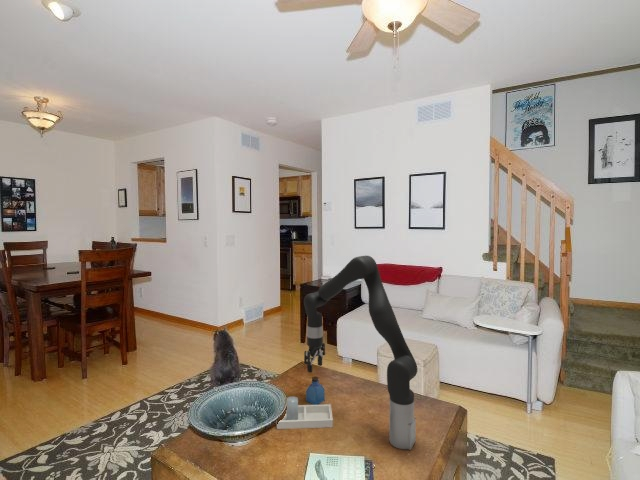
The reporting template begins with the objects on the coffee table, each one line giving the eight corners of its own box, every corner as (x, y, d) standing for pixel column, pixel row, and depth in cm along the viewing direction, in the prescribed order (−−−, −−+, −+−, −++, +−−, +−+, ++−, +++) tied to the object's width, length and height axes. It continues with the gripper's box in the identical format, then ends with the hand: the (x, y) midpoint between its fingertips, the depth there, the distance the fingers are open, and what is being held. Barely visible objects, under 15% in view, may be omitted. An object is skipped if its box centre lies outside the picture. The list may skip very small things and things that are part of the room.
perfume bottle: (316, 407, 157) (316, 382, 156) (306, 403, 161) (306, 378, 160) (324, 401, 162) (324, 377, 161) (314, 397, 166) (314, 373, 165)
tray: (330, 412, 153) (330, 404, 152) (332, 429, 141) (332, 420, 140) (279, 414, 152) (279, 405, 151) (276, 431, 140) (276, 422, 139)
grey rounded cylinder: (300, 418, 147) (300, 398, 146) (293, 424, 142) (293, 403, 142) (291, 415, 149) (291, 395, 149) (283, 420, 145) (283, 400, 145)
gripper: (313, 341, 151) (313, 376, 152) (329, 331, 163) (329, 364, 164) (299, 337, 155) (299, 372, 156) (316, 329, 167) (316, 361, 168)
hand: (315, 368), depth 160 cm, fingers open, 8 cm apart
